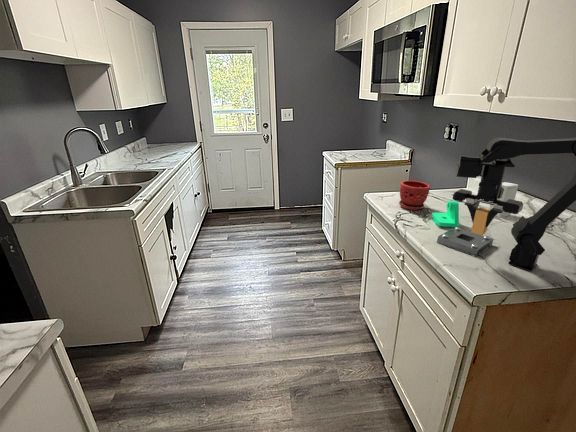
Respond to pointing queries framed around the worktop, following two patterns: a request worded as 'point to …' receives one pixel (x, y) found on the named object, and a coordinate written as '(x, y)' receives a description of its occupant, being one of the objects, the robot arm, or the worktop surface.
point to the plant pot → (413, 194)
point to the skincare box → (506, 196)
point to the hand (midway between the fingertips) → (480, 225)
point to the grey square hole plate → (465, 241)
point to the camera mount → (448, 215)
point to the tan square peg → (480, 221)
